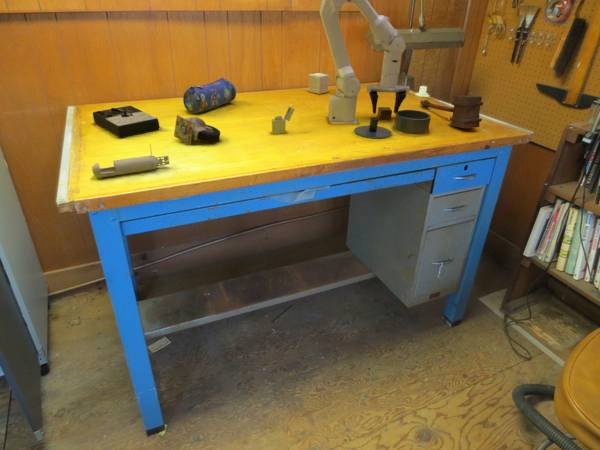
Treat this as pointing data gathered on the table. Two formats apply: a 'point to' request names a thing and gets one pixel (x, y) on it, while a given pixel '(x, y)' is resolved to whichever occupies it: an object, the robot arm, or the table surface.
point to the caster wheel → (195, 130)
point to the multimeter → (126, 121)
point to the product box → (318, 83)
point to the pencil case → (208, 96)
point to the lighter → (281, 122)
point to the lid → (373, 130)
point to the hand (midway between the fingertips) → (384, 113)
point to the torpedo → (130, 166)
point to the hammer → (461, 111)
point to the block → (384, 113)
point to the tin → (412, 121)
